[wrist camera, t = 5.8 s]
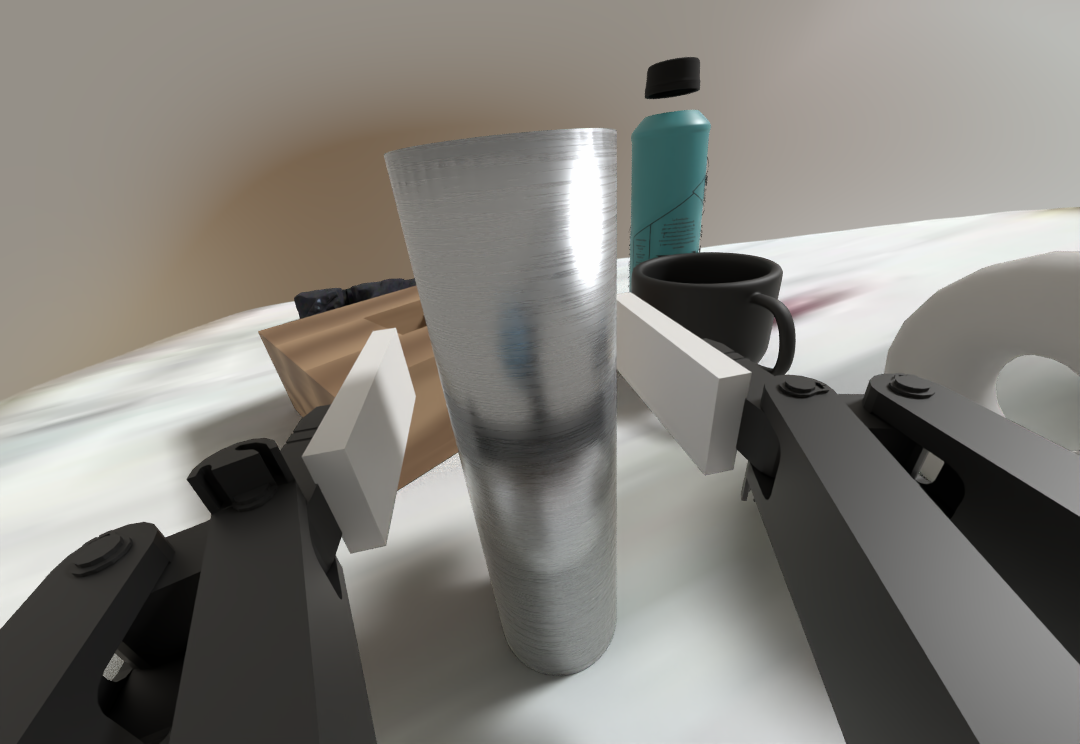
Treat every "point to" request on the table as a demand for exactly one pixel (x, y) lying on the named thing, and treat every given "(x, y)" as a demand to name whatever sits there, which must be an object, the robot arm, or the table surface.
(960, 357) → the donut
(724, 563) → the table surface
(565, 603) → the pin
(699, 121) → the beverage bottle
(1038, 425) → the table surface
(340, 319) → the block
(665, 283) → the mug
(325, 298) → the dark slate chunk
